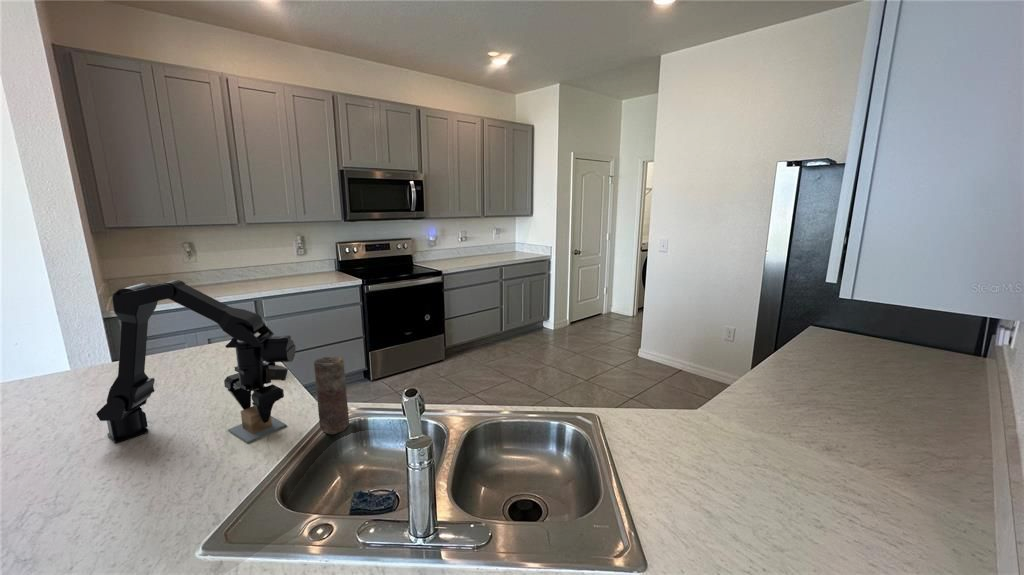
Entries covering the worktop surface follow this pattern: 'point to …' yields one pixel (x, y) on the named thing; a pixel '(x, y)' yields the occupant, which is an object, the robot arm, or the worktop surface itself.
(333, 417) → the candle
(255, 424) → the walnut cube
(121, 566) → the worktop surface
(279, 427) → the slate pad
